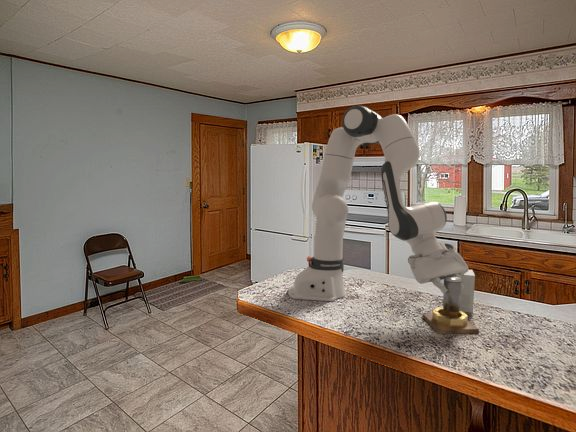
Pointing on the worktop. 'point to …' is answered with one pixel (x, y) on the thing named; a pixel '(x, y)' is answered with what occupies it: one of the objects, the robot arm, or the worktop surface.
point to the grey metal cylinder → (452, 294)
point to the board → (445, 329)
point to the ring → (444, 318)
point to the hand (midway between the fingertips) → (453, 290)
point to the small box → (467, 291)
